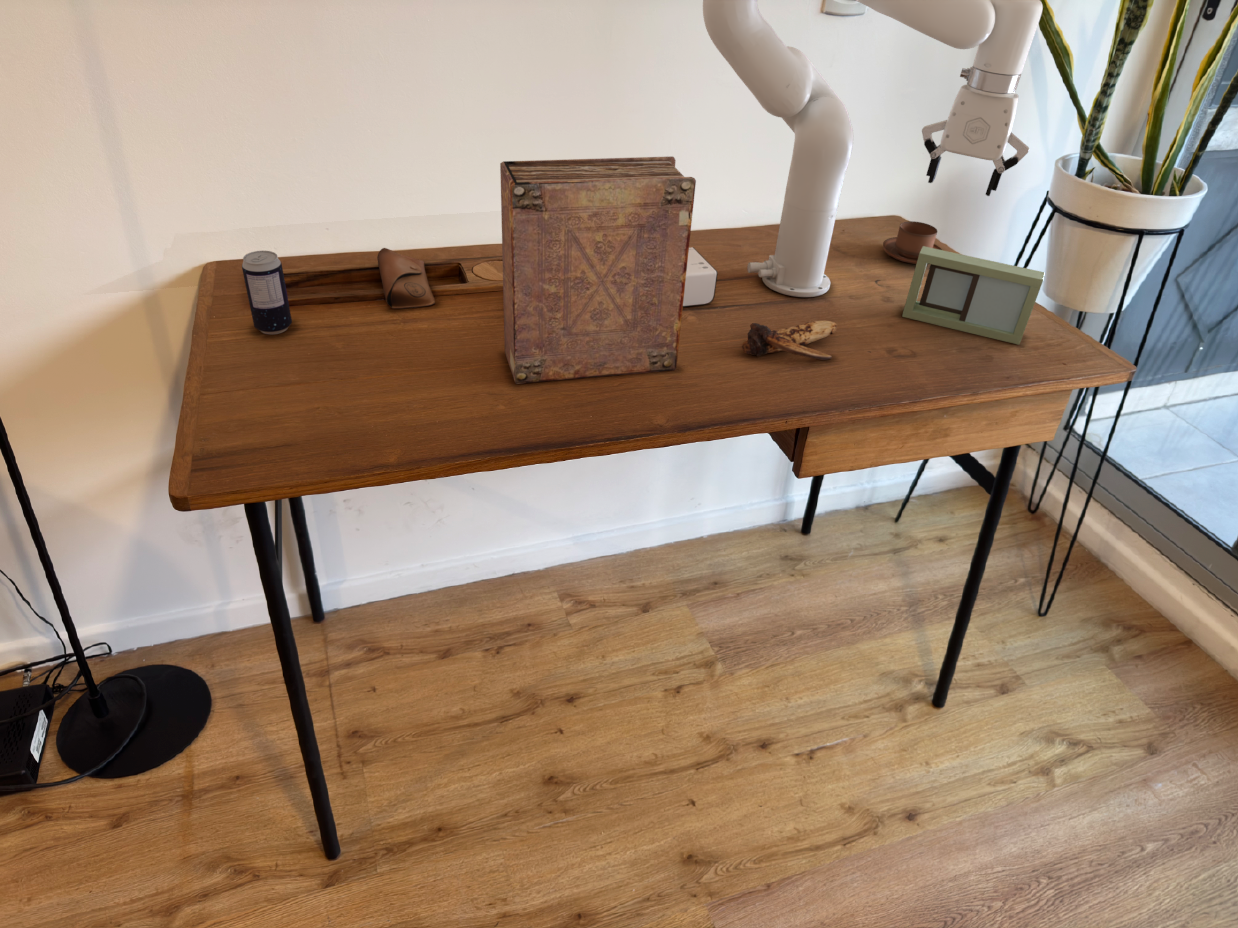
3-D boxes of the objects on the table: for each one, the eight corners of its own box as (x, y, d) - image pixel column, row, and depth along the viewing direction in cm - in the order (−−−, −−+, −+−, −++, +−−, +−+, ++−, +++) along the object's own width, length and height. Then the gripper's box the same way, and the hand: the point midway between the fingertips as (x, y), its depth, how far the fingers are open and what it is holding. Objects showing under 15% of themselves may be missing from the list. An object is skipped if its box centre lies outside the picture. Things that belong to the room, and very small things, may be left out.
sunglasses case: (438, 303, 149) (415, 272, 145) (404, 325, 150) (380, 296, 145) (424, 260, 163) (402, 231, 158) (392, 280, 163) (370, 252, 159)
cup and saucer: (878, 242, 185) (885, 214, 181) (936, 249, 184) (944, 220, 180) (883, 265, 175) (891, 236, 171) (945, 272, 174) (954, 243, 170)
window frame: (901, 316, 157) (919, 253, 150) (905, 308, 160) (922, 246, 152) (1019, 345, 151) (1043, 280, 144) (1020, 336, 153) (1044, 272, 146)
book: (658, 342, 144) (676, 156, 126) (676, 370, 137) (698, 178, 119) (503, 354, 137) (500, 160, 120) (514, 385, 130) (511, 184, 113)
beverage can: (300, 325, 141) (288, 254, 134) (275, 340, 137) (261, 267, 130) (272, 317, 143) (259, 246, 136) (246, 331, 139) (231, 259, 131)
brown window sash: (918, 306, 157) (931, 261, 152) (925, 290, 162) (937, 247, 157) (970, 318, 154) (985, 273, 149) (975, 302, 159) (990, 258, 154)
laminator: (526, 324, 146) (526, 289, 142) (509, 292, 155) (509, 259, 152) (713, 304, 156) (718, 271, 153) (687, 275, 165) (690, 244, 162)
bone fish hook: (763, 377, 138) (855, 355, 144) (768, 351, 135) (862, 330, 141) (732, 347, 144) (821, 328, 151) (736, 322, 141) (827, 303, 148)
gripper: (934, 76, 141) (905, 182, 151) (1047, 97, 136) (1009, 205, 146) (942, 68, 146) (913, 170, 157) (1051, 87, 141) (1013, 192, 151)
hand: (959, 187), depth 151 cm, fingers open, 9 cm apart
